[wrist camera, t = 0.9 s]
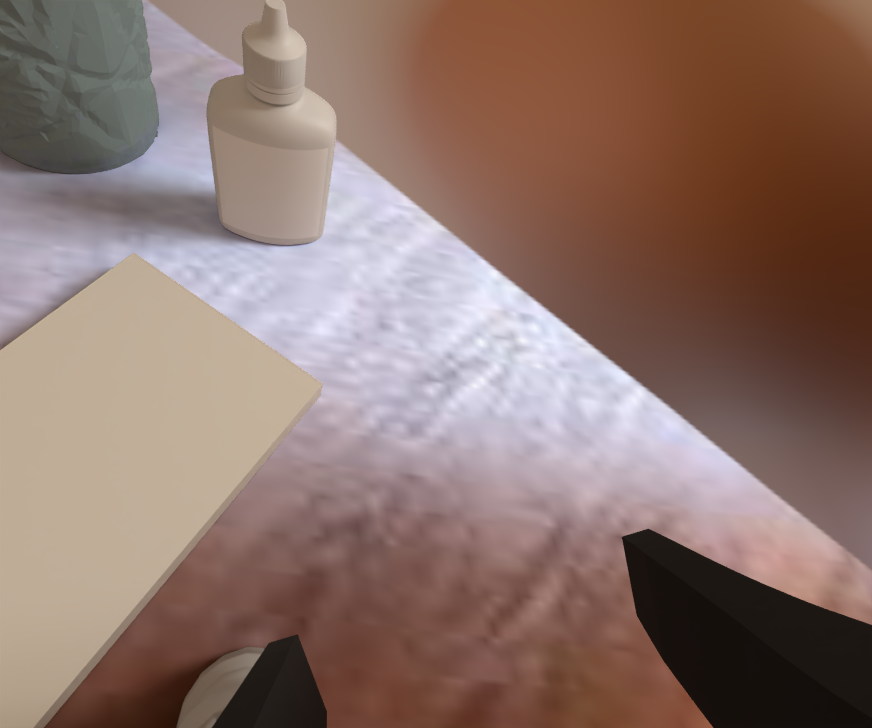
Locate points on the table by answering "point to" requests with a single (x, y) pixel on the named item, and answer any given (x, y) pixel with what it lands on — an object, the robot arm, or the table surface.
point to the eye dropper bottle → (271, 139)
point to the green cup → (75, 84)
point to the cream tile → (119, 465)
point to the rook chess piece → (216, 688)
